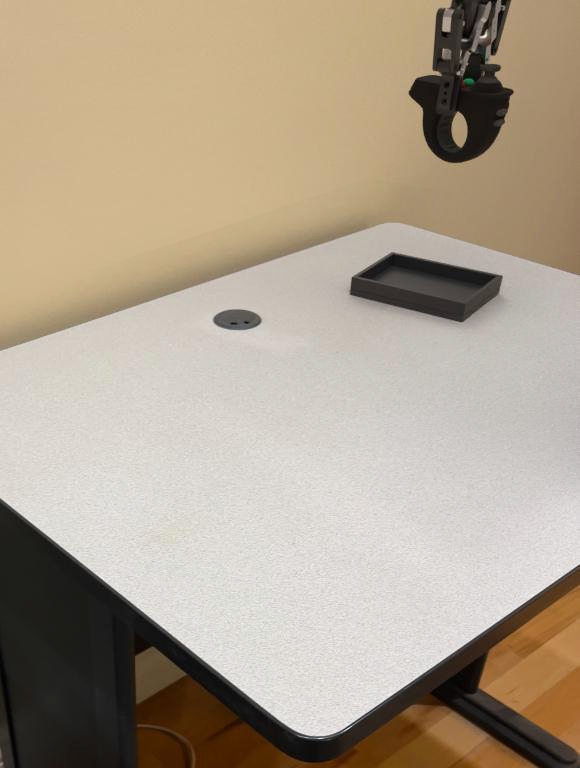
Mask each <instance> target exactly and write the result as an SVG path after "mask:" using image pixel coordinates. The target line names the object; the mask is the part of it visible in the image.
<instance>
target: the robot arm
mask: <svg viewBox="0 0 580 768" xmlns="http://www.w3.org/2000/svg"><path fill="white" fill-rule="evenodd" d="M511 3H512V0H451V2H450V6H449V7H438V9H437V11H436V14H435V26H434V37H433V38H434V40H433V55H432V69H431V70H432V71H433V72H438V76H441V81H440V87H439V93H438V99H437V105H436V112H437V113H438V114H443V115H453V114H455V113H456V112H457V110H458V104H459V99H460V92H461V88H462V82H463V80H465V79H473V80H474V82H475V81H477V80H478V79H479V78H481V77H482V76H484V72H483V71H481V66H482V65H484V64H490V61H491V57H492V56H493V57H495V56H496V55H497V53H498V51H499V47H500V44H501V43H500V42H501V39H502V36H503V32H504V28H505V24H506V21H507V17H508V13H509V10H510V6H511ZM457 113H458V112H457ZM457 113H456V114H457Z"/></svg>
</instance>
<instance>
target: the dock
mask: <svg viewBox="0 0 580 768" xmlns="http://www.w3.org/2000/svg"><path fill="white" fill-rule="evenodd" d="M503 277H504V275H503V274H497V273H492V272H487V271H484V270H478V269H473V268H468V267H465V266H461V265H460V266H459V265H455V264H451V263H447V262H442V261H441V262H440V261H436V260H431V259H426V258H422V257H417V256H412V255H409V254H403V253H398V252H394V251H391V252H389V253H388V254H386V255H384V256H382V257H381V258H379V260H377V261H375V262H373V263H371V264H370V265H369V266H367V267H365V268H364V269H362V270H360V271H359V272H357V273H355V274H354V275H353V276H351V280H350V290H349V295H352V296H355V297H360V298H364V299H367V300H372V301H376V302H380V303H384V304H389V305H392V306H396V307H401V308H403V309H408V310H413V311H416V312H420V313H424V314H428V315H432V316H437V317H441V318H444V319H449V320H453V321H457V322H461V323H463V322H464V321H465V320H466V319H467V320H468V318H470V316H472V315H473V314H474V313H476V312H477V311H478V310H480V309H481V308H482V307H483V306H485V305H486V304H487V303H488V302H490V301H491V300H492V299H493V298H495V297H496V296H497V295H498V294H500V290H501V286H502V282H503Z"/></svg>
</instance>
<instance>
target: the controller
mask: <svg viewBox="0 0 580 768" xmlns="http://www.w3.org/2000/svg"><path fill="white" fill-rule="evenodd" d="M501 69H502V66H501V65H500V64H498V63H488V64H484V65H482V66H481V71H483V72H484V74H483V76H482V77H481V78H479V79H478V80H477V81H475V82H474V80H473V79H465V80H463V82H462V88H461V92H460V99H459V104H458V110H457V112H456V113H455V114H453V115H443V114H438V113H437V112H436V105H437V99H438V93H439V87H440V81H441V76H442V75H439V74H427V75H423V76H422V75H421V76H418V77H416V78H415V79H414V81H413V82H412V84H411V86H410V89H409V90H408V95H409V97H410V98H411V99H412V100H413V101H414V102H415V103H416V104H418V105H419V106H420V108H421V109H422V121H421V123H422V133H423V137H424V140H425V142H426V144H427V147H428V148H429V150H430V151H431V152H432V154H434V156H435V157H437V158H438V159H439V160H441V161H443V162H446V163H449V164H462V163H466V162H469V161H472V160H474V159H477V158H479V157H481V156H482V155H484V154H485V153H486V152H487V151H488V150H489V149H490V148H491V147H492V146H493V144H494V143H495V142H496V139H498V136H499V135H500V132H501V129H502V126H503V125H505V124H506V119H505V118H506V116H507V114H508V111H509V108H510V99H511V96H512V95H514V92H515V91H514V90H513V89H512V88H508V87H505V86H504V85H503V84H502V82H501V81H500V80H499V78H498V77H497V76H496V73H498V72H499V71H501ZM458 113H459V114H460V115H462V117H463V118H464V120H465V123H466V127H467V128H466V132H467V133H466V138H465V141H464V143H463V145H462V146H461V147H460V146H459V145H458V144H457V143H456V141H455V139H454V137H453V131H452V130H453V121H454V119H455V117H456V115H457V114H458Z"/></svg>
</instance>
